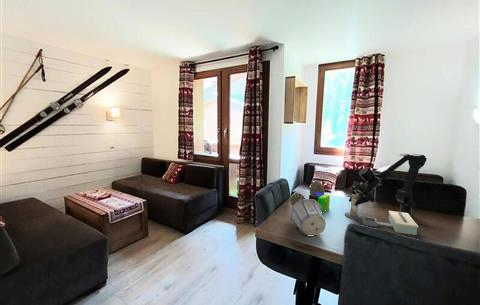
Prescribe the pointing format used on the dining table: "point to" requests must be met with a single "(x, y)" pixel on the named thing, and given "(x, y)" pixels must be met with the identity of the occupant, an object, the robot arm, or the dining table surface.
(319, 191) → the decorative egg
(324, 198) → the puzzle toy
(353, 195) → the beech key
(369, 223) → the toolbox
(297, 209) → the tipped over flowerpot
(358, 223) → the dining table surface
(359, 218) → the rubber mat
